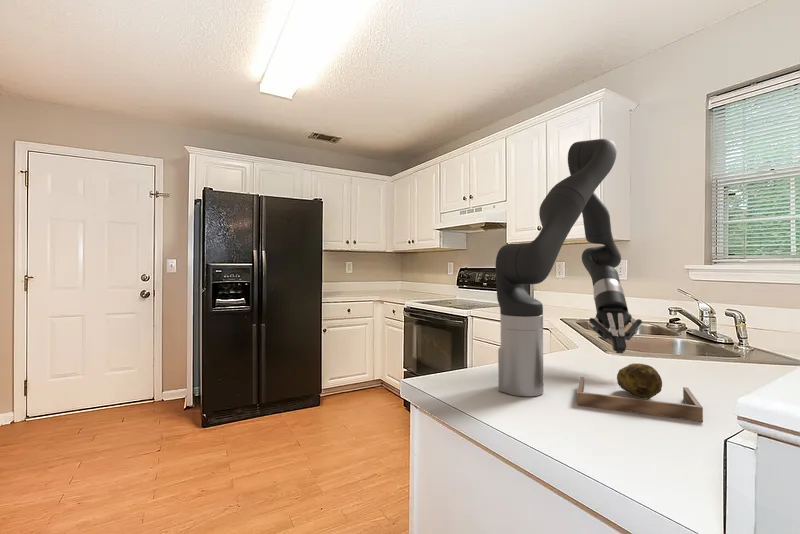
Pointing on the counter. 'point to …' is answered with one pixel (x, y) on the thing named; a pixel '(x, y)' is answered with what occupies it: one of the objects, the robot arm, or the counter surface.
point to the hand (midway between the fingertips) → (620, 351)
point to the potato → (640, 380)
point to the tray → (643, 404)
